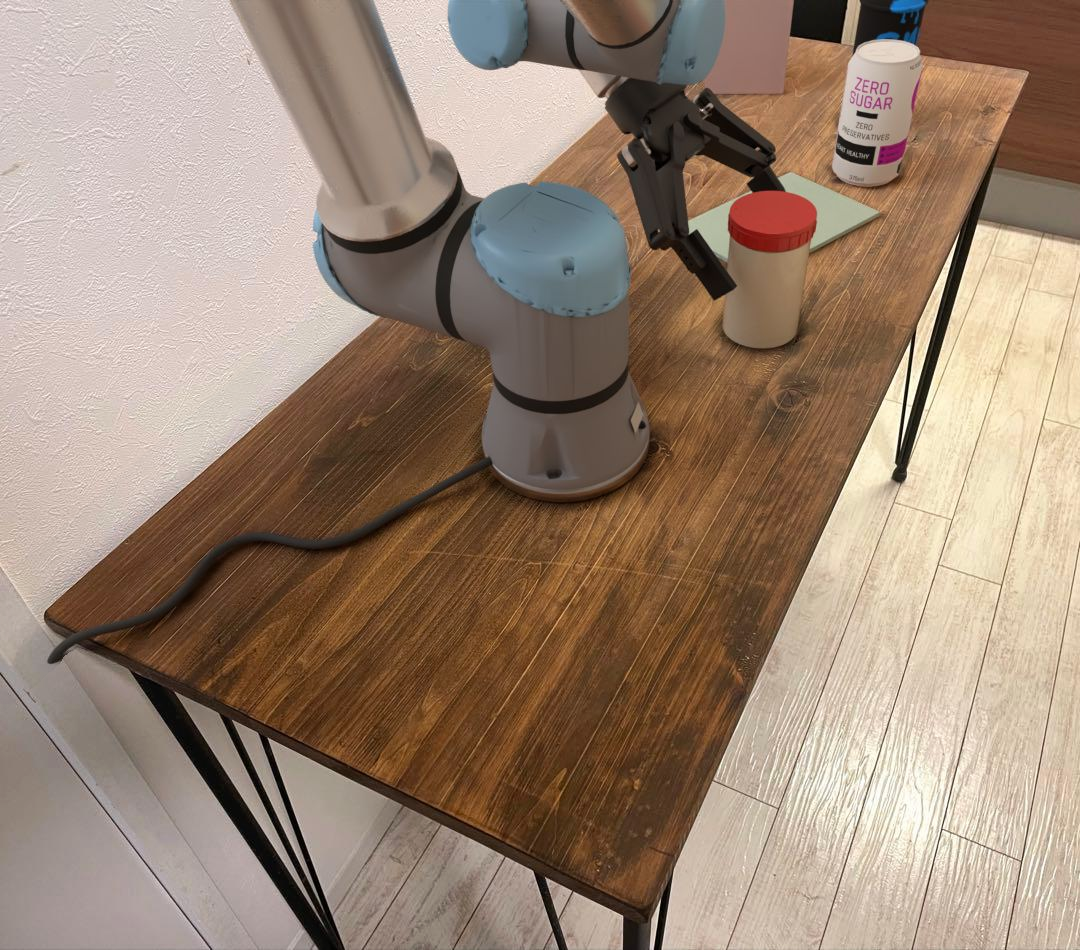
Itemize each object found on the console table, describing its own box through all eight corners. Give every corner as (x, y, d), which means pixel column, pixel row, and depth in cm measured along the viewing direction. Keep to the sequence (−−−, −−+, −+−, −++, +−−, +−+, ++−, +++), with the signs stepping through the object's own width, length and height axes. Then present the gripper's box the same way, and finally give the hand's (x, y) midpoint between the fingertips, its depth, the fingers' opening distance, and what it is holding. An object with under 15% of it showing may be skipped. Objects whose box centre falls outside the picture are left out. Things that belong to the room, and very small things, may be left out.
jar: (760, 358, 91) (773, 247, 82) (707, 324, 95) (714, 216, 87) (813, 328, 94) (831, 217, 85) (758, 296, 98) (771, 189, 90)
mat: (758, 280, 100) (759, 276, 100) (672, 232, 109) (672, 227, 108) (879, 216, 108) (880, 211, 108) (790, 175, 116) (790, 171, 116)
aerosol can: (827, 118, 127) (851, -41, 113) (875, 104, 129) (904, -54, 115) (866, 140, 122) (896, -24, 108) (915, 125, 124) (951, -38, 110)
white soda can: (892, 157, 118) (918, 35, 107) (904, 188, 112) (932, 63, 102) (827, 158, 119) (846, 38, 108) (835, 190, 113) (856, 66, 102)
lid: (772, 262, 83) (774, 243, 81) (709, 228, 88) (710, 210, 86) (833, 230, 86) (836, 211, 84) (769, 199, 91) (771, 181, 89)
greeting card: (786, 91, 134) (799, -20, 124) (757, 109, 131) (767, -4, 120) (722, 74, 140) (730, -34, 130) (692, 90, 137) (697, -19, 126)
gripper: (679, 54, 96) (793, 220, 99) (531, 150, 83) (668, 338, 86) (727, 8, 90) (847, 187, 93) (575, 104, 77) (721, 308, 80)
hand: (761, 260), depth 90 cm, fingers open, 13 cm apart
